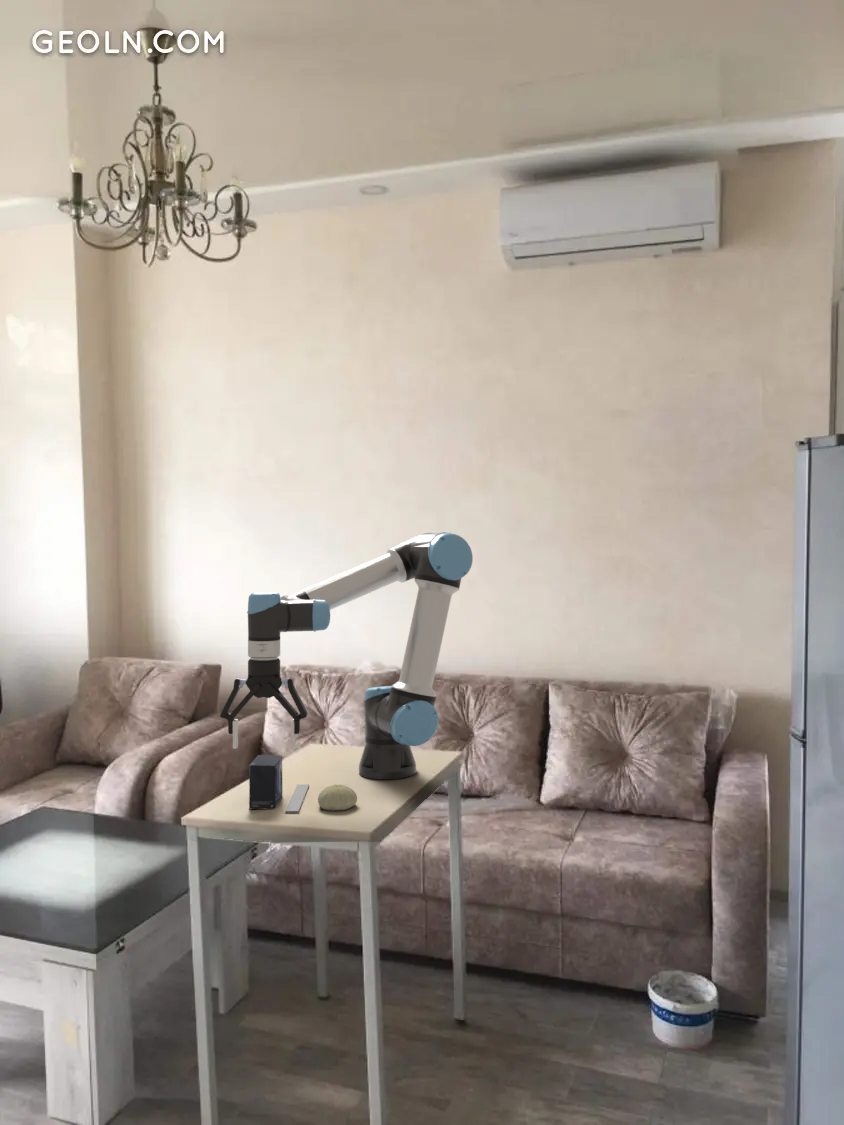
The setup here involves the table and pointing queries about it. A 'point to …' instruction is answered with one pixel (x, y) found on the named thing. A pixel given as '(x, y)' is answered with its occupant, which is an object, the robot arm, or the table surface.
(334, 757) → the table surface
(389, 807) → the table surface
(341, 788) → the sea urchin shell
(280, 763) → the small box
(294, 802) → the gray strip
